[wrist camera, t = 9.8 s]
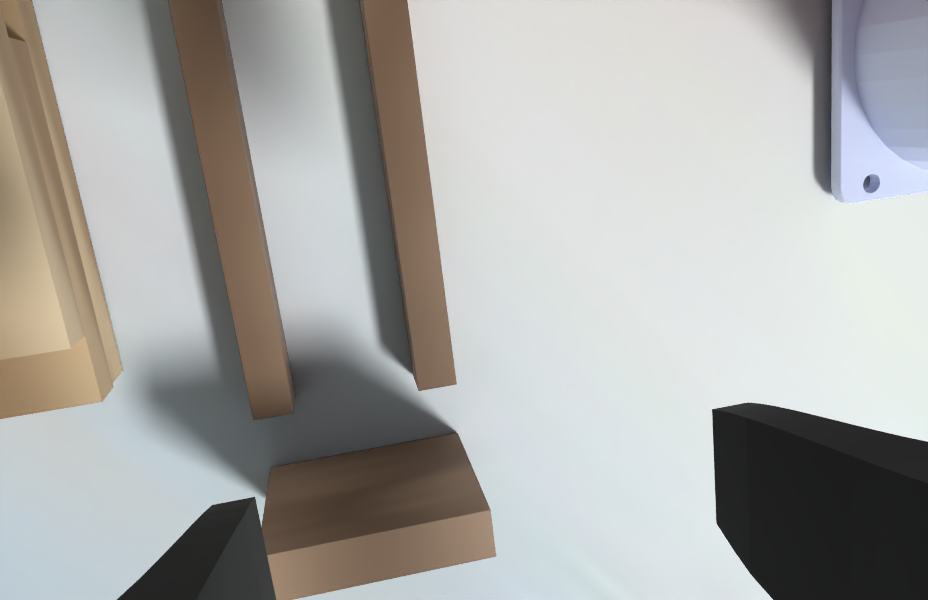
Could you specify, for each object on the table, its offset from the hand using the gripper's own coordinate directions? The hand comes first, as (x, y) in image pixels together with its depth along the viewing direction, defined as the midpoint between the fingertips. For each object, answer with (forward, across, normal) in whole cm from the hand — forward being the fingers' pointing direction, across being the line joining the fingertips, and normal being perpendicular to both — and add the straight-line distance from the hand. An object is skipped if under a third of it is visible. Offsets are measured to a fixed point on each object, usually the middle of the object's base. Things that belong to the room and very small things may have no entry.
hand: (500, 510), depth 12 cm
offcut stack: (+9, +9, -5) cm, 14 cm away
